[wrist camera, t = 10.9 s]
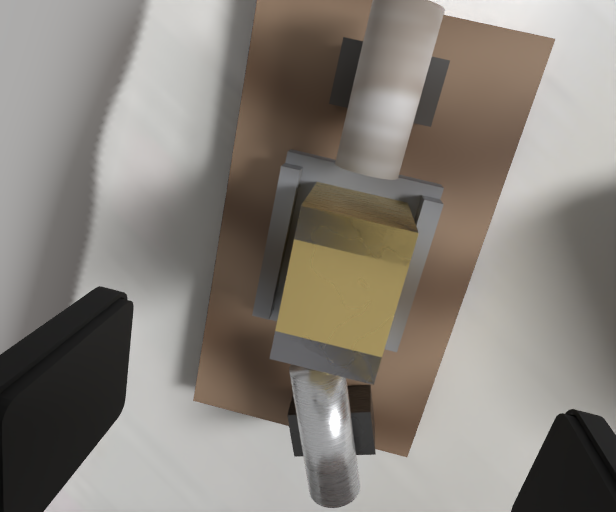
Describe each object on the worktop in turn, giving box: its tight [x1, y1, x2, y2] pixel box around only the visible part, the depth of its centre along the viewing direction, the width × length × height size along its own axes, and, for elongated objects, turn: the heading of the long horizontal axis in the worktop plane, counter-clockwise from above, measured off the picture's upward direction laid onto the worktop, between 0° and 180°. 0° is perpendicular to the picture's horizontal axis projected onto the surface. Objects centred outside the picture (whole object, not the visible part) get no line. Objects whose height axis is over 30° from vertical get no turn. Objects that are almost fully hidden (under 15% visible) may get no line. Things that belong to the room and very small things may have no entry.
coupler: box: [270, 182, 419, 385], centre depth 19 cm, size 6×4×5 cm, turn 168°
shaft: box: [287, 364, 375, 508], centre depth 23 cm, size 6×4×5 cm, turn 8°
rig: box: [193, 0, 555, 457], centre depth 21 cm, size 21×12×6 cm, turn 168°
